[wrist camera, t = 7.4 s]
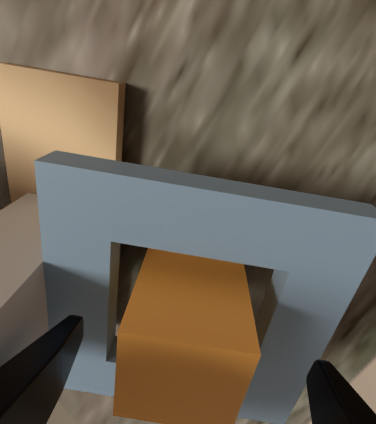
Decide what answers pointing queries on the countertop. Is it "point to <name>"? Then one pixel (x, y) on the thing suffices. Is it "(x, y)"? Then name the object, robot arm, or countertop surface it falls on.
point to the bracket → (185, 244)
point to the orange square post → (186, 342)
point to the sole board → (56, 119)
